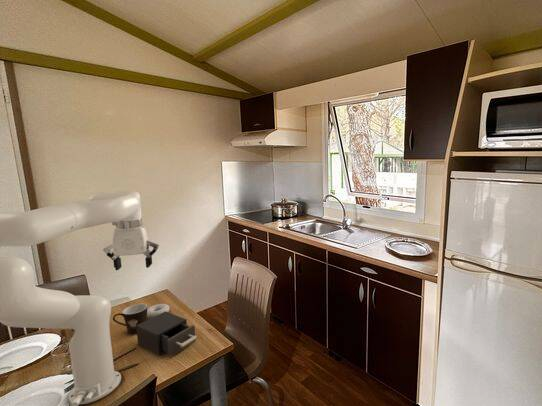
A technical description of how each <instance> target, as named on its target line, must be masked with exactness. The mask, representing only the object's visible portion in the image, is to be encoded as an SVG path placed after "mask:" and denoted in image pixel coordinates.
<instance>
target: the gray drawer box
mask: <svg viewBox="0 0 542 406" xmlns="http://www.w3.org/2000/svg"><path fill="white" fill-rule="evenodd" d="M182 323H184V324H186V325H188V324H187V323H188V322H187V319H186V318H184V317H181V316H179V315H177V314H174V313H171V312H170V311H169V312H166V311H165V312H163V313H161V314H159V315H157V316H155V317H153V318H151V319H149V318H148V319H147V320H146V321H144V322H142V323H140V324H138V325H136V329H137V334H136V337H137V339H136V340H137V345H138V346H140V347H141V348H144V349H145V350H147V351H150V352H151V353H153V354H156V355H157V356H161V355H162V354H164V353H166V352H165V351H162V350H161V344H160V335H162V334H164V333H166V332H167V331H169V330H171V329H173V328H175V327H177V326H178V325H180V324H182Z"/></svg>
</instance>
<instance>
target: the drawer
mask: <svg viewBox="0 0 542 406" xmlns="http://www.w3.org/2000/svg"><path fill="white" fill-rule="evenodd" d="M197 339H198V336H197V335H196V328H195V325H193V324H192V325H188V324H187V325H186V324H184V323H182V324H180V325H178V326H177V327H175V328H173V329H171V330H169V331H167V332H166V333H164V334H162V335H160V344H161V350H162V351H165V352H164V353H167V356H168V357H169V358H171V357H173V356H174V355H176V354H177V353H179V352H180V351H182V350H184V349H185V348H188V346H191V344H193V343H194V342H196V340H197Z"/></svg>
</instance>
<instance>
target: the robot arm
mask: <svg viewBox="0 0 542 406" xmlns="http://www.w3.org/2000/svg"><path fill="white" fill-rule="evenodd" d="M110 223H111V225H112V226H115V228H114V229H113V235H112V244H110V245H108V246H106V247H104V248H102V250H103V252H104V253H105V254H106V256H107V257H108V258H109V259H111V261H113V268H114V269H115V271H119V270H120V269H122V266H123V265H122V259H121V256H122V257H123V256H133V255H135V256H137V255H143V256H145V259H144V260H145V268H147V269H148V268H150V267H151V266H152V265H153V256H154V254H156V252H157V250H158V249H159V247H160V244H158V243H155V242H153V241H150V240H149V236H148V232H147V229H146V227H145V225H143V216H142V203H141V194H140V192H138V191H136V190H121V191H117V192H99V193H94V194H93V195H91V196H90V197H89V198H88V199H87V200H70V201H64V202H63V201H62V202H60V203H56V204H51V205H47V206H43V207H40V208H39V207H38V208H36V209H32V210H27V211H20V212H19V211H17V212H11V211H9V212H8V211H7V212H5V211H0V248H1V247H20V248H21V247H31V246H36V245H40V244H43V243H45V242H48V241H51V240H53V239H55V238H58V237H61V236H64V235H67V234H69V233H73V232H75V231H78V230H81V229H87V228H93V227H96V226H97V227H98V226H100V225H105V224H110ZM150 247H151V248H152V250H150ZM111 313H112V303H111V302H110V300H109V299H108V298H107V297H104V296H101V295H91V294H90V295H86V294H85V295H83V294H82V295H81V294H80V295H74V294H73V293H70V292H68V291H65V290H59V289H50V288H44V287H39V286H36V285H35V272H34V269H33V267H32V265H31V264H30V263H29V262H28V261H27V260H26V259H23V258H21V257H18V256H14V255H0V323H1V324H2V325H4V326H6V327H8V328H9V327H10V328H23V329H24V328H25V329H51V330H53V329H55V330H56V329H57V330H58V329H61V330H62V329H65V330H74V333H73V335H72V336H71V338H70V340H69V343H68V351H69V357H70V365H71V372H72V379H73V386H74V387H73V388H72V389H71V390H70V392H69V393H68V401H69V403H70V404H69V406H79V405H80V406H81V405H87V404H90V403H94V402H96V401H98V400H100V399H103V398H104V397H106V396H107V395H109V394H110V393H112V392H113V391H114V390H115V389H116V388H117V387H118V386H119V385H120V383H121V381H122V374H121V373H120V372H119V371H117V370H115V365H114V357H113V356H114V355H113V349H112V341H111V340H112V339H111V331H110V329H111V328H110V322H111V321H110V320H111Z"/></svg>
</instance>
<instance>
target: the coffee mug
mask: <svg viewBox="0 0 542 406" xmlns="http://www.w3.org/2000/svg"><path fill="white" fill-rule="evenodd" d="M147 309H148V304H147V303H136V304H133V305H129V306H127V307H126V308H125V307H124V309H122V313H116V314H114V315H113V316H112V320H113V322H114V323H116V324H118V325H121V326H123V327H126V331H127V334H128V335H132V336H133V335H134V336H135V335H137V329H136V325H138V324H140V323H142V322H144V321H146V320H148V318H147ZM117 316H122V317H123V319H124V322H120V321H118V320H116V317H117Z"/></svg>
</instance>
